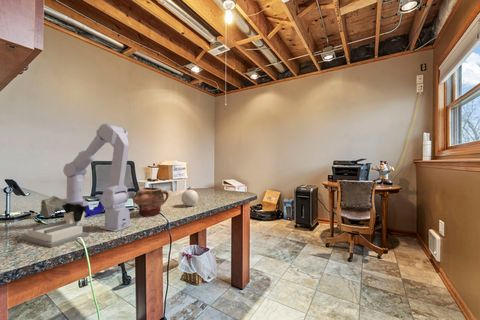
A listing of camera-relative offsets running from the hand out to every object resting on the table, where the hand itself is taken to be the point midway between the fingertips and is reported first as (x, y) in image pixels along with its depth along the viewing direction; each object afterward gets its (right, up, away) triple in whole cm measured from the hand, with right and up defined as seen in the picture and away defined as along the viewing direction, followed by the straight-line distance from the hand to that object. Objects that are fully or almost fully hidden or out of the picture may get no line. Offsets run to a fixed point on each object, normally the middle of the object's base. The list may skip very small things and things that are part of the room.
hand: (74, 220), depth 96 cm
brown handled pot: (+27, -2, +20) cm, 33 cm away
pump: (0, -1, 0) cm, 1 cm away
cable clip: (-3, -2, +16) cm, 17 cm away
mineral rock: (-20, -1, +13) cm, 24 cm away
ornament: (+42, -2, +40) cm, 59 cm away
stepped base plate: (+6, -2, -16) cm, 17 cm away
